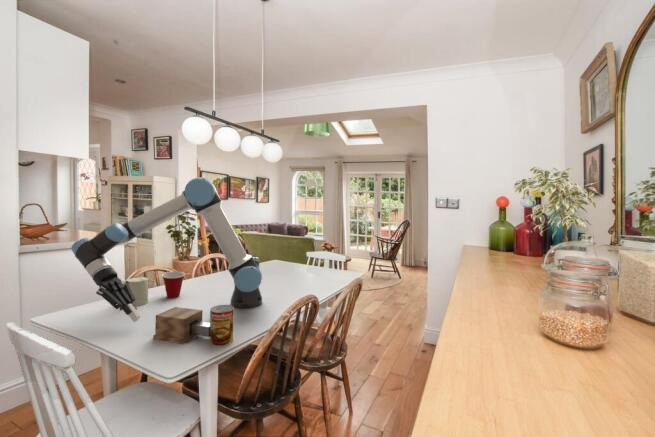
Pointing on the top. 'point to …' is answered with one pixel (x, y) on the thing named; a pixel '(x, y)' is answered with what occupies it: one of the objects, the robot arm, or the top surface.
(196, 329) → the shaft
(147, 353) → the top surface
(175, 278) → the plastic cup
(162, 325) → the bearing block
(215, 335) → the canned food
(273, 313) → the top surface
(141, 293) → the can
